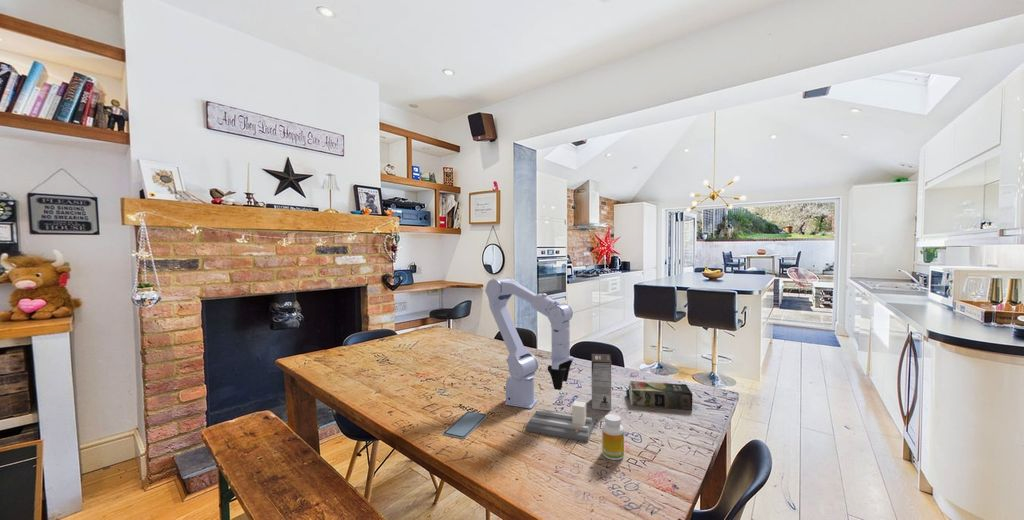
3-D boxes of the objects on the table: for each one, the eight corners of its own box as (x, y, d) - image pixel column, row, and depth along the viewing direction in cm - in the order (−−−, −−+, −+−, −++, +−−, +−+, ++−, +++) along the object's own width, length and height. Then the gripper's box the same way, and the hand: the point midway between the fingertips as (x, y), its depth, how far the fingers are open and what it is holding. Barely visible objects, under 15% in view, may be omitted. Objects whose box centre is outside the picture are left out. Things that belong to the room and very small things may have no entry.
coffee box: (591, 398, 129) (591, 353, 129) (610, 399, 128) (610, 354, 127) (591, 409, 120) (591, 360, 120) (612, 411, 119) (611, 361, 118)
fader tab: (572, 425, 105) (572, 405, 105) (575, 419, 109) (574, 400, 109) (584, 427, 104) (583, 407, 104) (586, 421, 108) (586, 402, 108)
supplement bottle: (626, 460, 91) (626, 422, 91) (604, 460, 91) (604, 422, 91) (620, 449, 96) (620, 412, 96) (600, 449, 96) (599, 412, 96)
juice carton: (628, 406, 123) (628, 387, 123) (625, 395, 133) (625, 378, 132) (692, 412, 118) (693, 393, 118) (685, 400, 128) (685, 382, 128)
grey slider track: (525, 430, 106) (525, 422, 106) (538, 413, 118) (538, 405, 117) (588, 442, 100) (588, 433, 100) (594, 422, 111) (594, 414, 111)
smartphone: (441, 433, 105) (467, 410, 118) (441, 436, 105) (467, 413, 119) (464, 438, 102) (488, 414, 116) (464, 441, 102) (488, 417, 116)
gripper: (567, 349, 108) (568, 395, 108) (577, 338, 121) (577, 378, 122) (544, 347, 111) (545, 391, 111) (556, 336, 124) (557, 376, 124)
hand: (560, 385), depth 117 cm, fingers open, 7 cm apart
